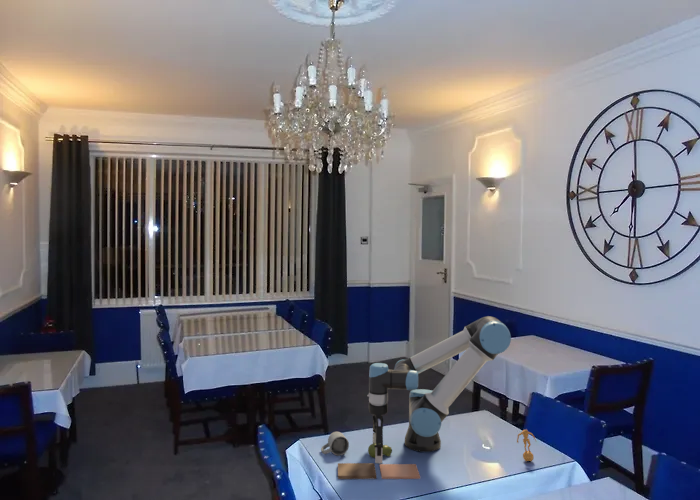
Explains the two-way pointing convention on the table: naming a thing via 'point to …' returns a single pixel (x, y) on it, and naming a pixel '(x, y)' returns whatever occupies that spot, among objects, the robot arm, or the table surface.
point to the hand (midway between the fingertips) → (377, 455)
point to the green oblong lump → (386, 451)
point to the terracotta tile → (399, 471)
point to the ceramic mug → (336, 444)
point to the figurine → (527, 454)
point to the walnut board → (356, 471)
